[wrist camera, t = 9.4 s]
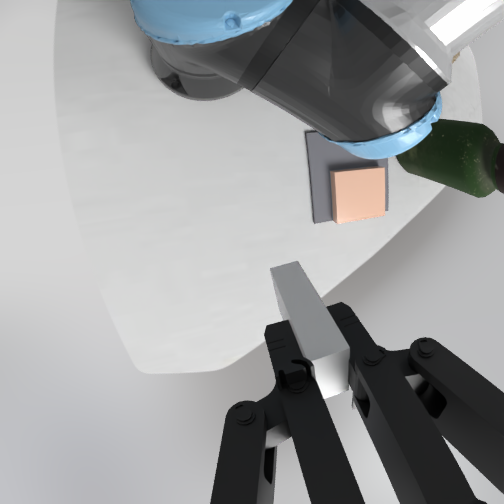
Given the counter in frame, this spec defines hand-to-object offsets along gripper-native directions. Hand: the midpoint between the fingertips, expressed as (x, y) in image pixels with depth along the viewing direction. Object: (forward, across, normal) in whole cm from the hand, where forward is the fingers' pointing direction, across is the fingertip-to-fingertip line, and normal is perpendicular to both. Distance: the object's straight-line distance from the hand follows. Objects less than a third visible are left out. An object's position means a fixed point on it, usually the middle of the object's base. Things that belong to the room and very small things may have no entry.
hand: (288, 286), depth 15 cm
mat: (+27, +18, -2) cm, 33 cm away
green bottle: (+28, +32, 0) cm, 42 cm away
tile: (+26, +13, -5) cm, 30 cm away
